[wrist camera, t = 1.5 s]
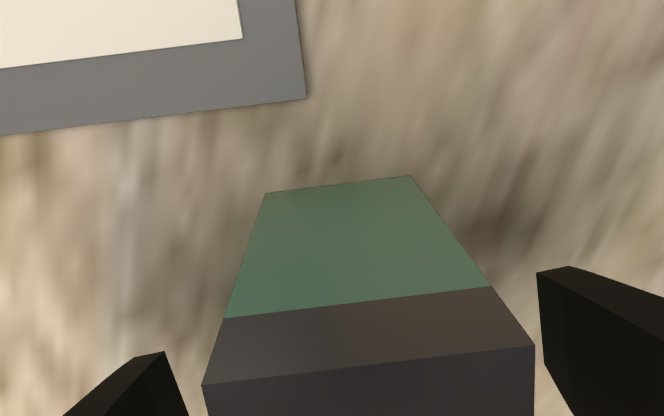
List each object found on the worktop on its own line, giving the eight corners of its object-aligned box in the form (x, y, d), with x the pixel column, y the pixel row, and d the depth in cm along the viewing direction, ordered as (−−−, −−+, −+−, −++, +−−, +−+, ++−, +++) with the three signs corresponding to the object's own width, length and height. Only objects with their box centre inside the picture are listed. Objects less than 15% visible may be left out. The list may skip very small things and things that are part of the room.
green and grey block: (409, 175, 13) (535, 345, 6) (418, 303, 15) (530, 580, 7) (265, 193, 13) (201, 385, 6) (286, 319, 15) (256, 613, 7)
